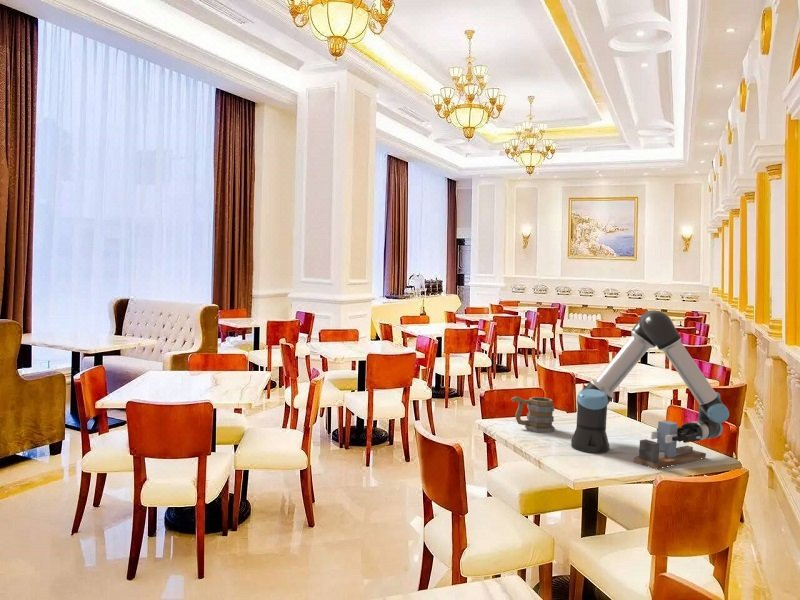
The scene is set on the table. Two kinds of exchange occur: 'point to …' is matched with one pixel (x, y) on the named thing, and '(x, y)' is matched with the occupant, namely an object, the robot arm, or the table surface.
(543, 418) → the tankard
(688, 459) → the rail board
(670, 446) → the sleeve
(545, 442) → the table surface
